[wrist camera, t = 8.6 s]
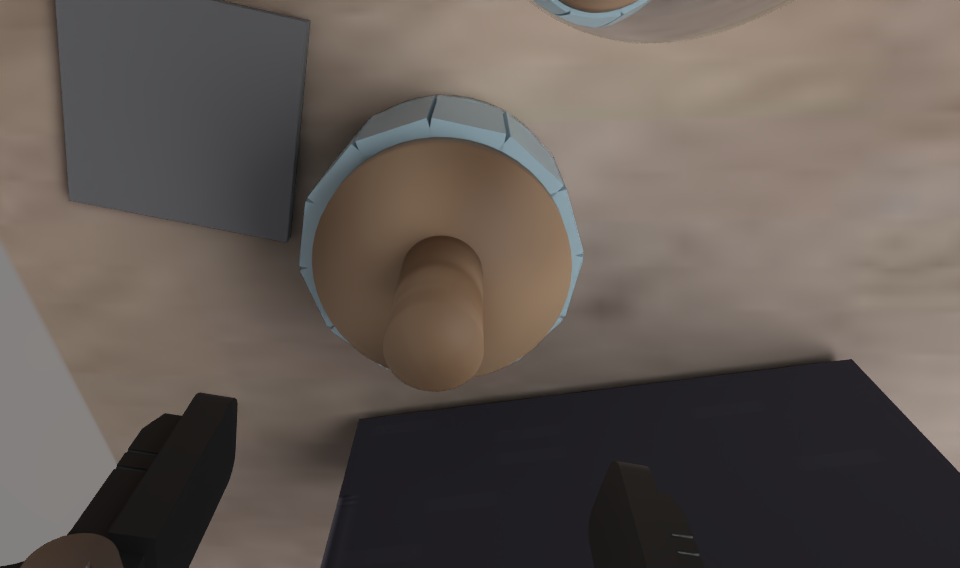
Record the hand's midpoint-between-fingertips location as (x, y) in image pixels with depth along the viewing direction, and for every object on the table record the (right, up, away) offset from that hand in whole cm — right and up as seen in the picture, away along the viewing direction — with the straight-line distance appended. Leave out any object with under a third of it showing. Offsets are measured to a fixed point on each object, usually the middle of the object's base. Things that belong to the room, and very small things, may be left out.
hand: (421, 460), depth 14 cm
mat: (-10, +11, +12) cm, 19 cm away
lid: (0, +5, +10) cm, 11 cm away
